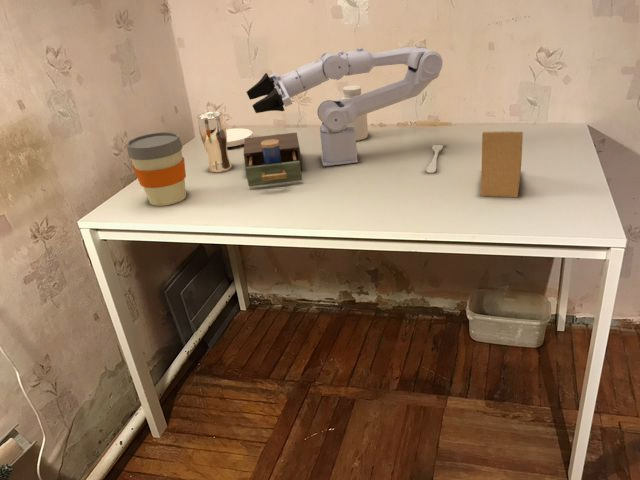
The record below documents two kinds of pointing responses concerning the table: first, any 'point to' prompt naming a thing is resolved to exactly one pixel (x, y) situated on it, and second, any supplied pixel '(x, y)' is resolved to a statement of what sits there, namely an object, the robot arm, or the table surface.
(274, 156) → the jar
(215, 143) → the beer glass
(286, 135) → the cabinet
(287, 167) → the drawer
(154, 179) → the reusable coffee cup
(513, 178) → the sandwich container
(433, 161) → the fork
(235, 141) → the plastic lid
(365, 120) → the pill bottle
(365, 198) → the table surface
